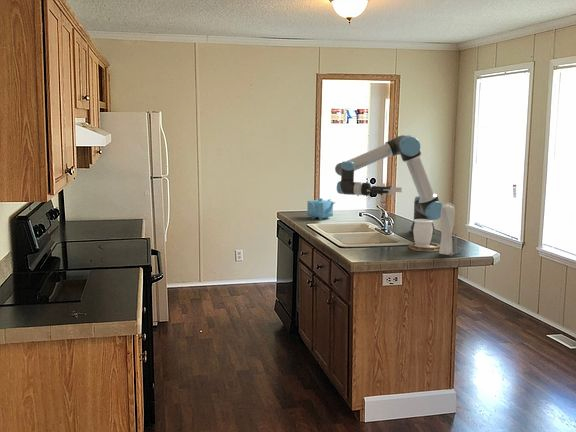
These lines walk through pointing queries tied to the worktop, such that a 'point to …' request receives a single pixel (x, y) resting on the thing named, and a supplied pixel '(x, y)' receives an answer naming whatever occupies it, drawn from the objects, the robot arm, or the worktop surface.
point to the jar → (423, 232)
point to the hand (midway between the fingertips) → (398, 191)
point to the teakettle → (320, 208)
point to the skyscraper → (447, 230)
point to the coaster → (432, 248)
